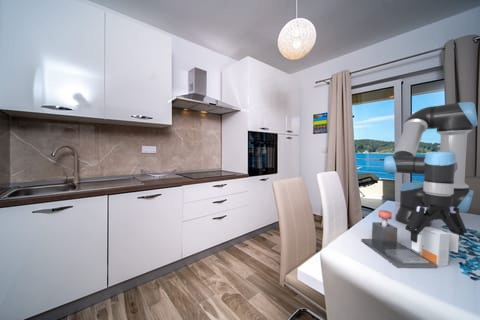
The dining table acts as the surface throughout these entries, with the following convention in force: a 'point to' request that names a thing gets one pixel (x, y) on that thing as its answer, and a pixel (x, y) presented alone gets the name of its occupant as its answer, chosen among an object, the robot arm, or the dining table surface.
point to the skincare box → (435, 245)
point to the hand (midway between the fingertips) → (434, 250)
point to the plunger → (384, 216)
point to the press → (394, 248)
